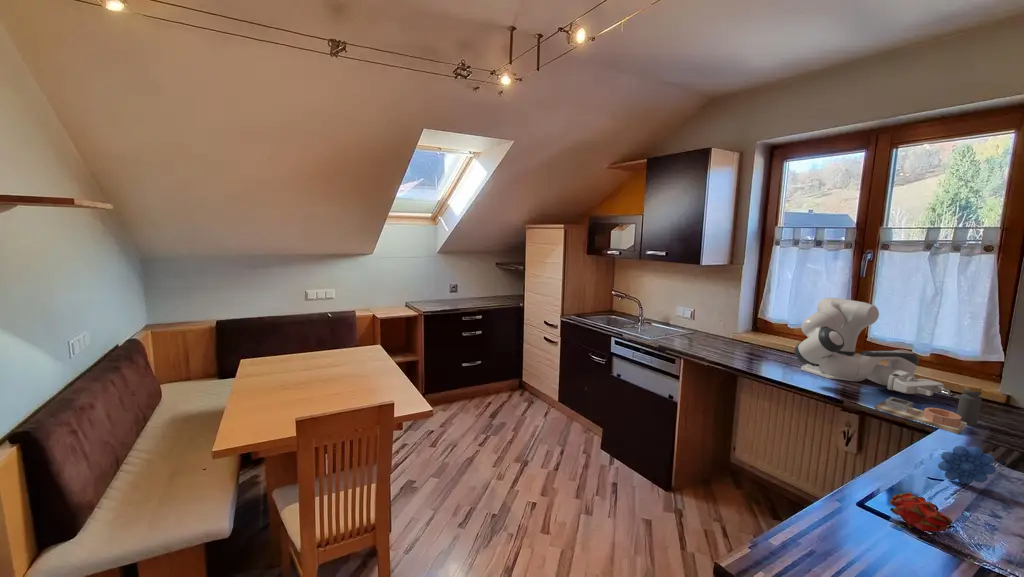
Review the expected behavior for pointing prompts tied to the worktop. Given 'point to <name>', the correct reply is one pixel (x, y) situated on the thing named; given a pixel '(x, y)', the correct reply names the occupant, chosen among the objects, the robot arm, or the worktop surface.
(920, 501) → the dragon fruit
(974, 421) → the bottle
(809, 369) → the robot arm
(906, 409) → the square holder
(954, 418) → the round holder
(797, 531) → the worktop surface
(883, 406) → the wooden board
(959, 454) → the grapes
